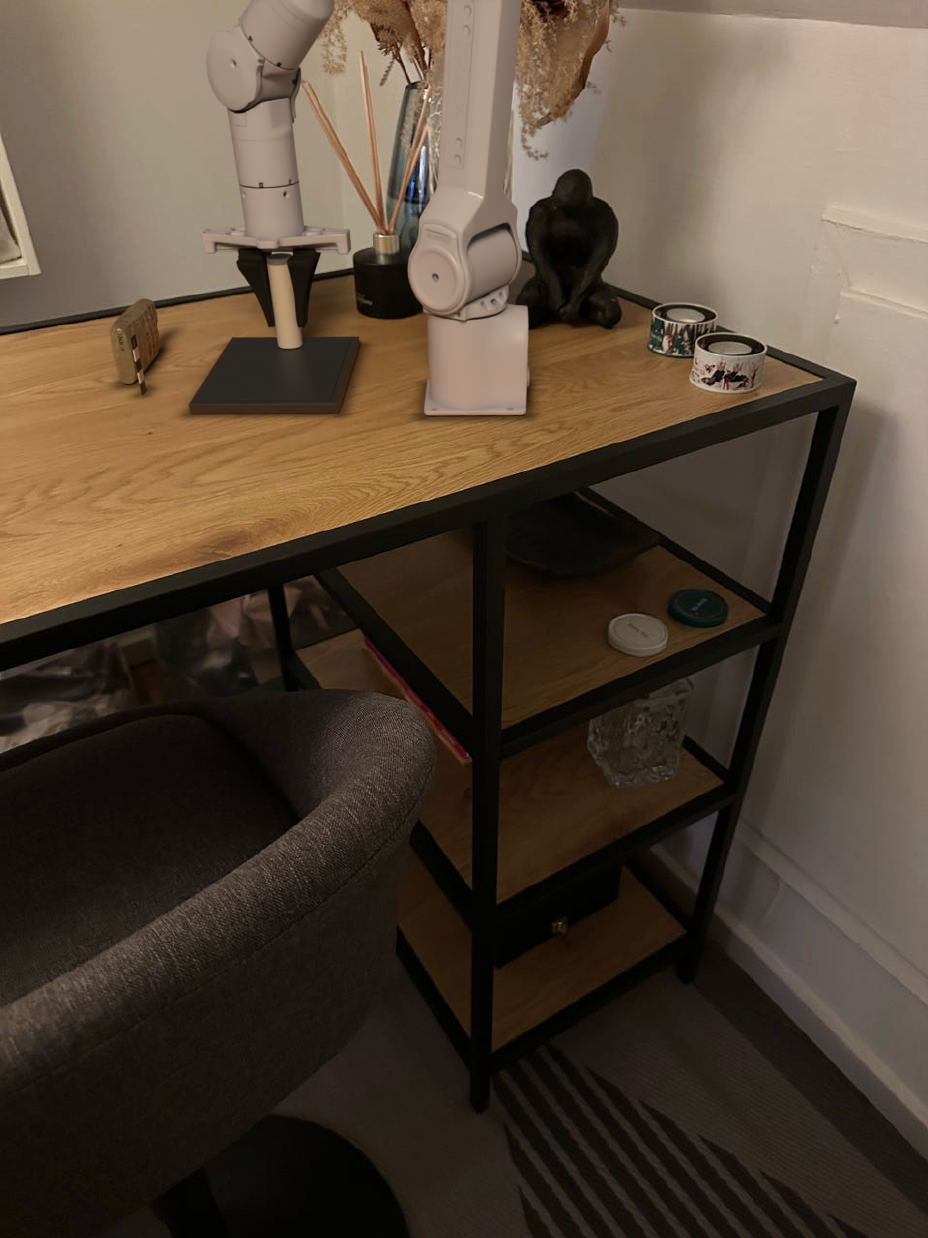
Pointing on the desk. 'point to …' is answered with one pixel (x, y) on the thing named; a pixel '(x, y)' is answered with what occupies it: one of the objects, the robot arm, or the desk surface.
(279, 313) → the stylus
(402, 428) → the desk surface
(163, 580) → the desk surface
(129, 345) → the cuneiform tablet
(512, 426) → the desk surface
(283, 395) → the plate
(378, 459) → the desk surface
